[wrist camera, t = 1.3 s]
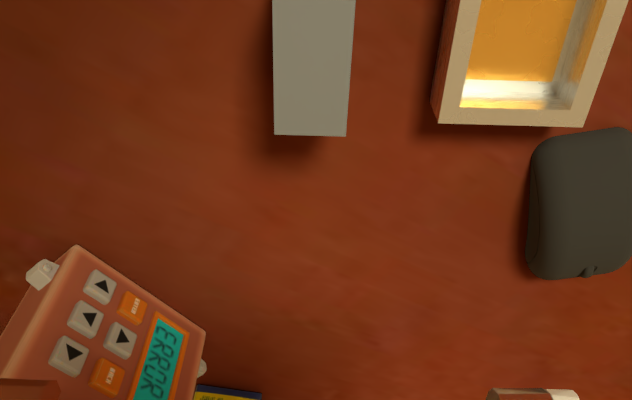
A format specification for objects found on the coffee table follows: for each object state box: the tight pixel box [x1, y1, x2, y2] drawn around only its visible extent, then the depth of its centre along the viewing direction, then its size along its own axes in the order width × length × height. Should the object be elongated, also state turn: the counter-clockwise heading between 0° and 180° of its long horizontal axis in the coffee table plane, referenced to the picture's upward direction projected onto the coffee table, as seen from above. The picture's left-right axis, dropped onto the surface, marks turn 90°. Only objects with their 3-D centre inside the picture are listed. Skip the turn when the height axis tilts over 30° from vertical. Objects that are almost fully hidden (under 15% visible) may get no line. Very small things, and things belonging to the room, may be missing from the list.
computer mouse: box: [525, 127, 632, 280], centre depth 35 cm, size 6×11×4 cm, turn 10°
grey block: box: [272, 0, 356, 136], centre depth 27 cm, size 6×4×6 cm, turn 178°
